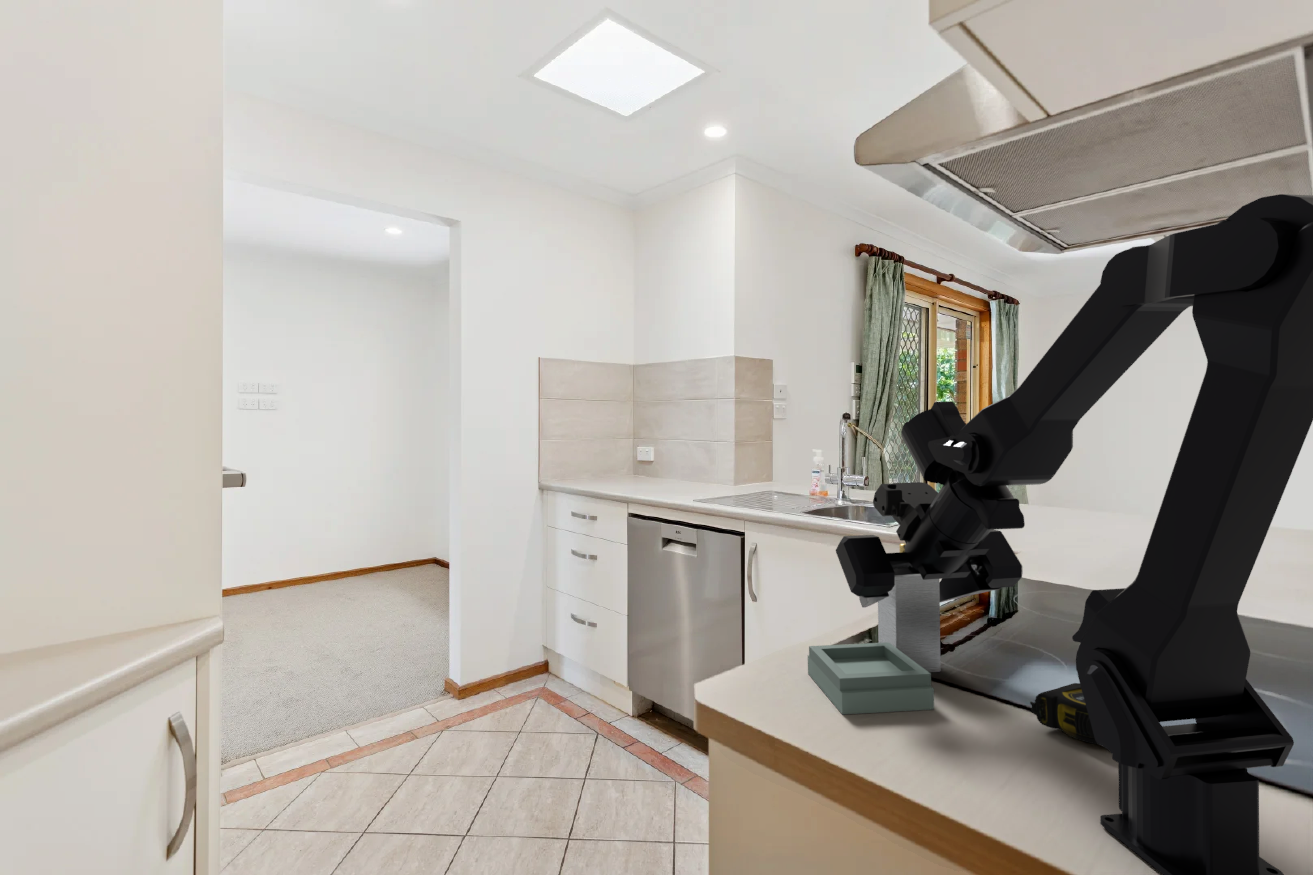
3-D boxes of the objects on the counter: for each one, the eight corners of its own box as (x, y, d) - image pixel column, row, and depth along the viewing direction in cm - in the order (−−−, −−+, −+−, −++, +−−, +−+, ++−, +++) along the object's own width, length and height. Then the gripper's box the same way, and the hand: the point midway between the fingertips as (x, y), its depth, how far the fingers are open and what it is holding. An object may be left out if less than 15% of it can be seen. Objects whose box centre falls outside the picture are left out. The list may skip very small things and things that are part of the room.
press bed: (933, 709, 60) (933, 675, 60) (842, 714, 59) (841, 680, 59) (887, 669, 70) (886, 640, 70) (807, 673, 69) (807, 644, 69)
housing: (940, 671, 69) (939, 548, 69) (896, 673, 69) (894, 549, 69) (919, 656, 74) (918, 540, 73) (878, 658, 73) (877, 542, 73)
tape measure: (1079, 713, 59) (1078, 673, 59) (1162, 746, 53) (1162, 701, 53) (1030, 728, 56) (1029, 686, 56) (1111, 764, 50) (1111, 717, 50)
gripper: (1003, 456, 69) (943, 540, 80) (842, 461, 66) (803, 546, 77) (1060, 541, 61) (985, 620, 72) (881, 550, 58) (831, 631, 69)
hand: (899, 601), depth 73 cm, fingers open, 9 cm apart
